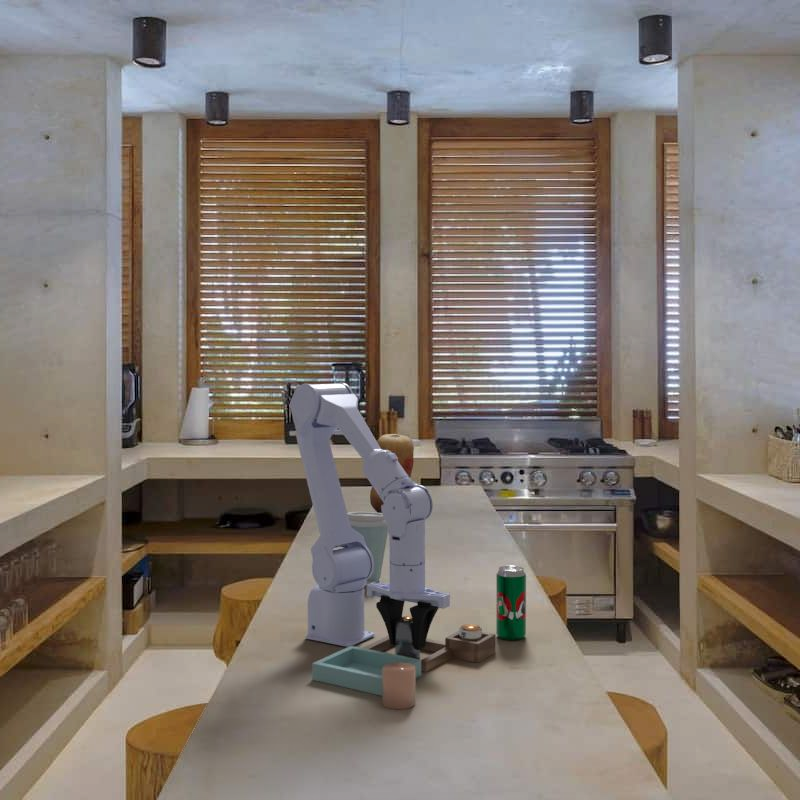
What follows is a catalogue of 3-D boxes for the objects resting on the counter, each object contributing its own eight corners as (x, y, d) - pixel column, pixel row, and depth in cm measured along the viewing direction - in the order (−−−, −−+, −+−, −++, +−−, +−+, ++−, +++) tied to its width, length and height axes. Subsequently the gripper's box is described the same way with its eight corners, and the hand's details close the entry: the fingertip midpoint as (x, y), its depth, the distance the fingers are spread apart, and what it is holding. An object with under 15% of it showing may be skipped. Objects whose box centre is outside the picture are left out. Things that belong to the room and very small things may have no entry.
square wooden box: (445, 656, 149) (445, 637, 149) (463, 646, 154) (463, 628, 154) (478, 662, 146) (478, 644, 146) (495, 652, 151) (495, 634, 151)
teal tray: (312, 679, 138) (312, 663, 138) (351, 661, 147) (351, 645, 147) (384, 696, 132) (384, 679, 131) (421, 676, 140) (421, 659, 140)
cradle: (359, 658, 148) (359, 648, 148) (394, 641, 157) (394, 632, 157) (426, 671, 142) (426, 662, 142) (458, 653, 150) (458, 644, 150)
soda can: (523, 632, 162) (523, 564, 161) (528, 641, 157) (528, 571, 156) (494, 632, 162) (494, 565, 161) (498, 641, 157) (498, 571, 156)
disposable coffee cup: (348, 574, 206) (348, 507, 205) (395, 576, 204) (395, 508, 203) (335, 585, 196) (335, 515, 195) (385, 588, 194) (385, 516, 193)
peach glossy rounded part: (376, 704, 128) (375, 669, 128) (394, 694, 132) (393, 660, 132) (404, 711, 126) (404, 675, 126) (421, 700, 130) (421, 665, 130)
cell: (390, 658, 148) (390, 618, 148) (403, 651, 152) (403, 613, 151) (411, 662, 146) (411, 622, 146) (424, 655, 150) (424, 616, 149)
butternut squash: (398, 522, 271) (398, 437, 270) (361, 517, 278) (361, 435, 277) (423, 515, 283) (423, 433, 282) (387, 511, 290) (387, 432, 289)
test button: (455, 644, 149) (455, 627, 149) (466, 639, 153) (466, 622, 152) (475, 648, 148) (475, 631, 147) (485, 642, 151) (485, 625, 150)
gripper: (355, 561, 149) (356, 644, 149) (433, 572, 141) (433, 660, 142) (380, 553, 155) (380, 633, 155) (456, 563, 147) (456, 648, 148)
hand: (407, 645), depth 149 cm, fingers closed on cell, 4 cm apart
